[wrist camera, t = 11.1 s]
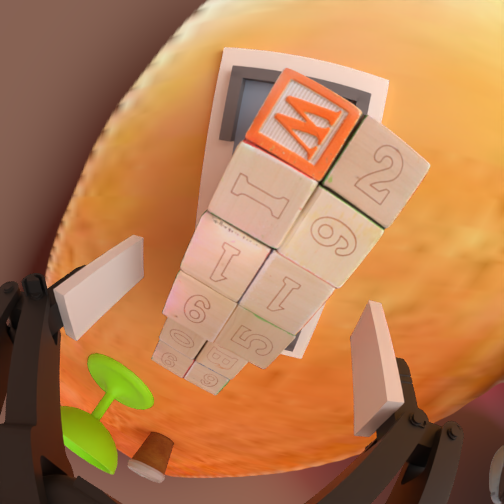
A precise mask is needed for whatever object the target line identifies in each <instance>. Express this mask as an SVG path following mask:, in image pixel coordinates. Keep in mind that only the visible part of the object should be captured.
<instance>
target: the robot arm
mask: <svg viewBox="0 0 504 504" xmlns="http://www.w3.org/2000/svg"><path fill="white" fill-rule="evenodd" d="M143 277H144V266H143V237H139V236H136V235H132V236H130V237H129V238H127V239H126V240H124V241H122V242H121V243H119V244H118V245H116V246H115V247H113V248H112V249H110V250H109V251H107V252H106V253H104V254H103V255H101V256H100V257H98V258H97V259H95V260H94V261H92V262H91V263H89V264H88V265H84V266H81V267H78V268H76V269H74V270H73V271H72V272H70V274H67V275H66V276H65V277H63V278H62V279H60V280H59V281H57V282H56V283H55V284H53V285H52V286H51V287H49V288H48V289H47V285H46V281H45V277H44V276H43V275H42V274H39V273H34V274H30V275H28V276H26V277H25V278H23V280H22V286H23V289H24V292H21V291H20V289H19V285H18V284H17V283H16V282H14V281H11V282H6V283H5V284H3V285H2V286H1V287H0V414H1V410H2V407H3V403H4V400H5V396H6V393H7V399H6V416H5V422H4V424H0V504H122V503H120V502H119V501H117V500H116V499H114V498H112V497H111V496H109V495H108V494H106V493H105V492H103V491H102V490H100V489H98V488H97V487H95V486H94V485H92V484H90V483H89V482H87V481H86V480H84V479H83V478H81V477H80V476H78V477H77V478H75V477H74V474H73V471H72V467H71V464H70V463H69V460H68V458H67V456H66V453H65V447H64V440H63V431H62V421H61V409H60V384H59V365H60V340H61V333H60V329H61V328H62V327H63V326H64V329H65V332H66V335H68V336H69V337H71V338H72V339H74V340H76V341H77V340H78V339H79V338H80V337H81V336H82V335H83V334H84V333H85V332H86V331H87V330H88V329H89V328H90V327H91V326H92V325H93V324H94V323H95V322H97V321H98V320H99V319H100V318H101V317H102V316H103V315H104V314H105V313H106V312H107V311H108V310H109V309H110V308H111V307H112V306H113V305H114V304H115V303H116V302H117V301H118V300H120V299H121V298H122V297H123V296H124V295H125V294H126V293H127V292H128V291H129V290H130V289H131V288H132V287H134V286H135V285H136V284H137V283H138V282H139V281H140V280H141V279H142V278H143ZM7 319H9V322H10V323H9V325H8V326H7V324H6V321H7ZM350 341H351V354H352V370H353V393H354V436H365V437H370V436H371V435H372V434H373V433H374V432H375V431H376V432H377V438H376V439H375V440H374V441H373V442H371V443H370V444H369V445H368V446H367V447H365V450H364V451H363V452H362V453H361V454H360V455H359V457H358V458H356V459H355V461H353V462H352V463H351V464H350V465H349V466H348V467H347V468H346V469H345V470H344V471H343V472H342V473H341V474H340V475H339V476H337V477H336V478H335V479H334V480H333V481H332V482H331V483H329V484H328V485H327V486H326V487H325V488H323V489H322V490H321V491H320V492H319V493H318V494H316V495H315V496H314V497H312V498H311V499H310V500H308V501H307V502H306V503H304V504H371V503H372V502H373V501H374V500H375V499H376V498H377V496H378V495H379V494H380V493H381V492H382V491H383V489H384V488H385V487H386V486H387V485H388V484H389V482H390V481H391V480H392V479H393V477H394V476H395V475H396V474H397V472H398V471H399V470H400V468H401V467H402V466H403V468H402V470H401V472H400V475H399V477H398V479H397V481H396V483H395V485H394V488H393V490H392V492H391V494H390V496H389V498H388V500H387V502H386V503H385V504H447V501H448V498H449V496H450V492H451V489H452V486H453V482H454V479H455V475H456V471H457V467H458V463H459V459H460V454H461V449H462V444H463V438H464V433H463V430H462V428H461V426H460V425H459V424H458V423H456V422H454V421H448V422H446V423H445V424H444V425H443V426H442V427H441V426H439V425H436V424H433V423H430V422H429V421H428V417H427V415H426V414H425V413H424V412H423V411H422V410H421V409H419V408H418V407H417V402H416V397H415V392H414V387H413V384H412V379H411V377H410V376H411V374H410V370H409V367H408V365H407V364H406V362H405V361H404V359H401V358H395V353H394V349H393V345H392V341H391V337H390V333H389V329H388V326H387V322H386V318H385V315H384V311H383V308H382V304H381V303H379V302H375V301H371V300H369V301H368V303H367V305H366V307H365V309H364V311H363V313H362V315H361V317H360V319H359V321H358V323H357V325H356V327H355V329H354V331H353V333H352V335H351V337H350ZM403 464H404V465H403ZM489 487H490V492H491V498H492V501H493V502H494V503H495V504H500V503H502V504H504V446H502V447H501V448H500V449H499V450H498V451H497V452H496V454H495V455H494V458H493V460H492V463H491V467H490V476H489Z"/></svg>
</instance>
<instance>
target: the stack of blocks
mask: <svg viewBox="0 0 504 504" xmlns="http://www.w3.org/2000/svg"><path fill="white" fill-rule="evenodd" d="M429 169H430V164H429V163H428V162H427V161H426V160H425V159H424V158H423V157H422V156H420V155H419V154H418V153H417V152H416V151H415V150H414V149H412V148H411V147H410V146H409V145H408V144H407V143H405V142H404V141H403V140H402V139H400V138H399V137H398V136H397V135H396V134H394V133H393V132H392V131H390V130H389V129H388V128H387V127H385V126H384V125H383V124H381V123H380V122H379V121H378V120H376V119H375V118H373V117H372V116H370V115H364V114H363V113H362V111H361V110H360V109H359V108H358V107H356V106H355V105H354V104H352V103H351V102H349V101H348V100H346V99H344V98H343V97H341V96H340V95H338V94H336V93H335V92H333V91H331V90H330V89H328V88H326V87H324V86H323V85H321V84H319V83H317V82H316V81H314V80H312V79H310V78H308V77H306V76H304V75H302V74H300V73H298V72H296V71H294V70H292V69H289V68H287V67H286V68H284V69H283V71H282V72H281V74H280V75H279V77H278V79H277V80H276V82H275V84H274V85H273V87H272V89H271V91H270V92H269V94H268V96H267V97H266V99H265V101H264V103H263V104H262V106H261V108H260V109H259V111H258V113H257V115H256V117H255V118H254V120H253V122H252V124H251V125H250V127H249V129H248V131H247V133H246V135H245V139H244V140H242V141H241V142H240V143H239V144H238V145H237V147H236V149H235V151H234V153H233V155H232V157H231V159H230V161H229V163H228V165H227V167H226V169H225V171H224V173H223V175H222V177H221V180H220V182H219V184H218V186H217V188H216V190H215V192H214V194H213V196H212V199H211V201H210V203H209V205H208V209H207V210H206V211H205V212H204V213H203V214H202V216H201V218H200V220H199V222H198V224H197V226H196V229H195V231H194V234H193V236H192V238H191V240H190V243H189V245H188V247H187V250H186V252H185V255H184V257H183V259H182V262H181V265H180V271H179V272H178V274H177V276H176V278H175V281H174V283H173V286H172V288H171V291H170V293H169V296H168V298H167V301H166V303H165V306H164V309H163V311H162V314H164V315H166V316H167V320H166V322H165V324H164V326H163V328H162V331H161V333H160V336H159V339H160V340H159V342H158V344H157V346H156V349H155V351H154V353H153V356H152V358H151V359H152V360H153V361H155V362H156V363H158V364H159V365H161V366H163V367H164V368H166V369H168V370H169V371H171V372H173V373H174V374H176V375H177V376H179V377H181V378H184V379H186V380H187V381H189V382H191V383H193V384H195V385H196V386H198V387H200V388H202V389H204V390H206V391H208V392H210V393H212V394H214V395H217V394H218V393H219V392H220V391H221V390H222V389H223V388H224V387H225V386H226V384H227V383H228V382H229V381H230V380H231V379H233V378H234V377H235V376H236V375H237V374H238V373H239V371H240V370H241V369H242V368H243V367H244V366H245V365H246V364H247V363H248V362H250V363H252V364H254V365H255V366H257V367H259V368H261V369H266V368H267V367H268V366H269V365H270V364H271V363H272V362H273V361H274V360H275V359H276V358H277V357H278V355H279V354H280V353H281V352H282V351H283V350H284V349H285V348H286V347H287V346H288V345H289V344H290V343H291V342H292V341H293V340H294V339H295V337H296V334H297V333H298V332H299V331H300V330H301V329H302V328H303V327H304V326H305V325H306V324H307V323H308V322H309V321H310V319H311V318H312V317H313V316H314V315H315V314H316V312H317V311H318V310H319V309H320V308H321V307H322V306H323V305H324V303H325V302H326V301H327V300H328V299H329V298H330V296H331V295H332V294H333V292H334V290H335V289H337V288H340V287H341V286H342V285H343V284H344V283H345V282H346V280H347V279H348V278H349V277H350V276H351V274H352V273H353V272H354V271H355V270H356V268H357V267H358V266H359V265H360V263H361V262H362V261H363V260H364V258H365V257H366V256H367V254H368V253H369V252H370V251H371V249H372V248H373V247H374V245H375V244H376V243H377V241H378V240H379V239H380V238H381V236H382V235H383V233H384V229H385V228H388V227H389V226H391V225H392V223H393V222H394V221H395V219H396V218H397V216H398V215H399V214H400V212H401V211H402V210H403V208H404V207H405V205H406V204H407V203H408V201H409V200H410V198H411V197H412V195H413V194H414V193H415V191H416V190H417V188H418V187H419V185H420V184H421V182H422V181H423V179H424V178H425V176H426V175H427V173H428V171H429Z"/></svg>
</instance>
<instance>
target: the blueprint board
mask: <svg viewBox="0 0 504 504" xmlns="http://www.w3.org/2000/svg"><path fill="white" fill-rule="evenodd" d="M286 67H287V68H289V69H292V70H294V71H296V72H298V73H300V74H302V75H304V76H306V77H308V78H310V79H312V80H314V81H316V82H317V83H319V84H321V85H323V86H324V87H326V88H328V89H330V90H331V91H333V92H335V93H336V94H338V95H340V96H341V97H343V98H344V99H346V100H348V101H349V102H351V103H352V104H354V105H355V106H356V107H358V108H359V109H360V110H361V111H362V113H363V114H364V115H370V116H372V117H373V118H375V119H376V120H378V121H379V122H380V123H381V121H382V117H383V112H384V107H385V102H386V96H387V91H388V85H389V80H386V79H384V78H381V77H378V76H375V75H372V74H369V73H366V72H363V71H359V70H356V69H353V68H349V67H346V66H342V65H338V64H334V63H330V62H326V61H322V60H317V59H313V58H308V57H303V56H297V55H291V54H285V53H279V52H272V51H264V50H254V49H243V48H228V47H224V51H223V55H222V60H221V65H220V69H219V74H218V79H217V84H216V89H215V95H214V100H213V106H212V111H211V117H210V123H209V129H208V135H207V141H206V148H205V154H204V161H203V168H202V175H201V183H200V191H199V199H198V207H197V216H196V225H195V229H196V226H197V224H198V222H199V220H200V218H201V216H202V214H203V213H204V212H205V211H206V210H207V209H208V205H209V203H210V201H211V199H212V196H213V194H214V192H215V190H216V188H217V186H218V184H219V182H220V180H221V177H222V175H223V173H224V171H225V169H226V167H227V165H228V163H229V161H230V159H231V157H232V155H233V153H234V151H235V149H236V147H237V145H238V144H239V143H240V142H241V141H242V140H244V139H245V135H246V133H247V131H248V129H249V127H250V125H251V124H252V122H253V120H254V118H255V117H256V115H257V113H258V111H259V109H260V108H261V106H262V104H263V103H264V101H265V99H266V97H267V96H268V94H269V92H270V91H271V89H272V87H273V85H274V84H275V82H276V80H277V79H278V77H279V75H280V74H281V72H282V71H283V69H284V68H286ZM325 303H326V302H325ZM325 303H324V305H325ZM324 305H323V306H322V307H321V308H320V309H319V310H318V311H317V312H316V314H315V315H314V316H313V317H312V318H311V319H310V321H309V322H308V323H307V324H306V325H305V326H304V327H303V328H302V329H301V330H300V331H299V332H298V333H297V334H296V337H295V339H294V340H293V341H292V342H291V343H290V344H289V345H288V346H287V347H286V348H285V349H284V350H283V351H282V352H281V353H280V354H283V355H287V356H291V357H295V358H300V359H301V358H302V356H303V354H304V352H305V350H306V347H307V345H308V343H309V341H310V339H311V336H312V334H313V332H314V329H315V327H316V325H317V322H318V320H319V318H320V315H321V313H322V310H323V308H324Z"/></svg>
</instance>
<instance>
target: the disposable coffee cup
mask: <svg viewBox="0 0 504 504" xmlns="http://www.w3.org/2000/svg"><path fill="white" fill-rule="evenodd" d="M173 445H174V443H173V442H172V441H171V440H170V439H169V438H167V437H165V436H163V435H161V434H159V433H155V432H152V433H151V434H150V435H149V436H148V438H147V439H146V440H145V442H144V443H143V444H142V446H141V447H140V448H139V450H138V451H137V452H136V454H135V455H134V456H133V458H132V459H130V460H129V461H128V468H130V469H131V470H132V471H134V472H135V473H137V474H139V475H140V476H143V477H144V478H147V479H149V480H152V481H154V482H158V483H161V482H162V481H163V480H164V479H165V478H164V477H165V476H164V475H165V471H166V468H167V464H168V461H169V458H170V454H171V451H172V448H173Z"/></svg>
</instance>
